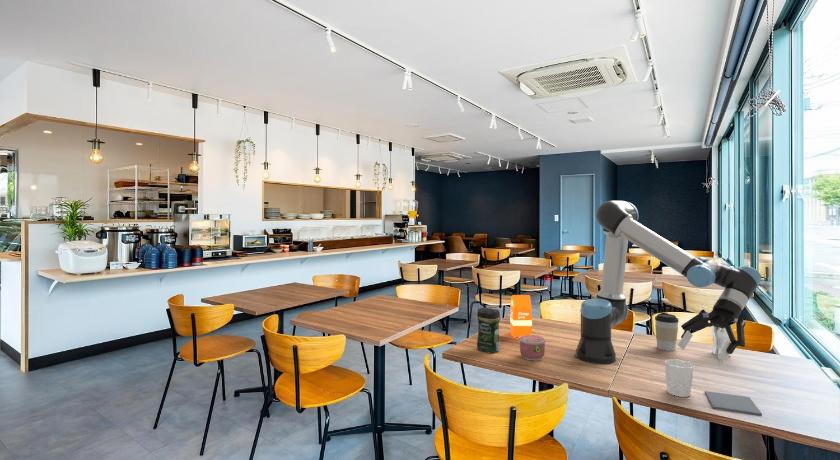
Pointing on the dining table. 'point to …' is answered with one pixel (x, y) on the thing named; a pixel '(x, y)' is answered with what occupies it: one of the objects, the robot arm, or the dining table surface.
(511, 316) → the orange juice
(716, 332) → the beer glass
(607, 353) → the robot arm
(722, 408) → the rubber mat
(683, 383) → the white cup
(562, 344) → the dining table surface
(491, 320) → the coffee jar
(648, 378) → the dining table surface
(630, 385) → the dining table surface
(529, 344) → the container
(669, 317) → the coffee cup
